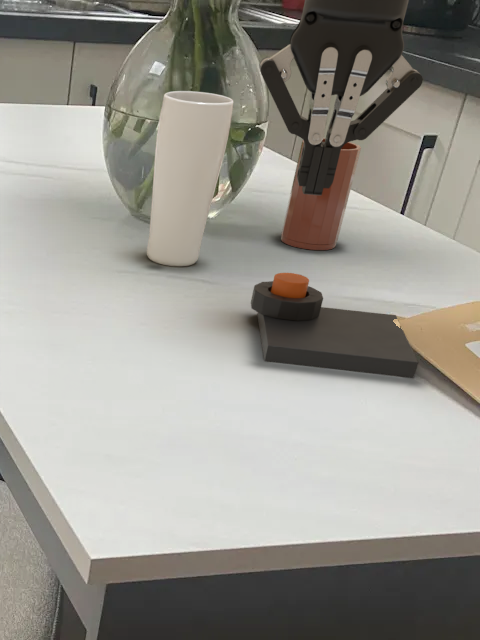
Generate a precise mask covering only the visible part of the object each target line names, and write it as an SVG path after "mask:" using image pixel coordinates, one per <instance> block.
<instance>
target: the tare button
mask: <svg viewBox="0 0 480 640" xmlns="http://www.w3.org/2000/svg"><path fill="white" fill-rule="evenodd" d="M272 281H273V284H272V289H271V293H273V294H275V295H279V296H283V297H287V298H305V296H306V292H307V288H308V286H309V285H310V284H309V283H310V279H309V278H308V277H307V276H305V275H302V274H298V273H294V272H293V273H292V272H278V273H275V274H274V276H273V280H272Z"/></svg>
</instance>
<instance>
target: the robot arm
mask: <svg viewBox="0 0 480 640" xmlns="http://www.w3.org/2000/svg"><path fill="white" fill-rule="evenodd" d="M409 2H410V0H304V3H303V4H304V5H303V8H302V13H301V16H300V20H299V23H297V26H296V27H295V28H294V30H293V31H292V33H291V35H290V38H289V44H287V46H285V47H283V48H282V49H280V50H279V51H278V52H276V53H274V54H273V55H272V56H265V57H263V58H262V59H261V60H260V61H259V65H258V68H259V71H260V75H261V76H262V79H263V81H264V83H265V85H266V87H267V89H268V92H269V93H270V96H271V97H272V99H273V102H274V104H275V106H276V108H277V110H278V112H279V114H280V116H281V118H282V120H283V123H284V125H285V127H286V130H287V131H288V132H289V133H290V134H291V135H295V136H297V137H298V138H301V139H302V141H303V140H304V145H303V150H302V154H301V159H300V163H299V168H298V172H297V180H298V184H299V186H303V187H302V191H303V194H309V195H320V196H321V195H322V192H323V188H330V186H331V185H332V183H333V180H334V176H335V172H336V168H337V164H338V159H339V155H340V151H341V149H342V147H343V146H344V145H345V144H346V143H348V142H353V141H364V140H366V139H367V138H368V137H370V135H372V134H373V132H375V130H377V129H378V128H379V127H380V126H381V125H382V124H383V123H384V122H385V121H386V120H388V118H389V117H390V116H392V115H393V113H395V111H396V110H398V109H399V108H400V107H401V106H402V105H403V104H404V103H405V102H406V101H407V100H408V99H409V98H410V97H411V96H412V95H414V93H415V92H416V91H417V90H419V89H420V87H421V86H422V84H423V82H424V78H423V76H422V73H420V72H419V71H418V70H417V69H414V68H413V67H412V65H411V64H410V63H409V62H408V60H407V59H406V58H405V56H403V52H404V48H405V41H404V37H403V26H404V20H405V17H406V13H407V9H408V4H409ZM293 59H294V61H295V64H296V66H297V70H298V71H299V73H300V76H301V78H302V81H303V83H304V85H305V88H307V90H308V91H309V92H310V97H309V104H308V115H307V118H306V117H304V116H302V115H301V114H300V113H299V111H298V109H297V106H296V104H295V102H294V100H293V98H292V95H291V94H290V91H289V90H288V87H287V85H286V82H287V81H289V79H290V78H291V76H292V68H291V63H292V61H293ZM390 69H391V71H390V72H389V74H388V75H387V77H386V80H385V86H386V89H385V90H384V91H383V92H381V94H380V95H378V96H377V98H376V99H374V101H372V102H371V103H370V104H369V105H368V106H367V107H366V108H365V110H363V111H362V112H361V113H360V114H359V115H358V116H357V117H356V118H355V119H354V120H352V118H353V117H354V115H355V112H356V109H357V106H358V104H359V100H360V97H362V96H364V95H365V94H367V93H368V92H369V91H370V90H371V89H372V88H373V87H374V86H375V85H376V84H377V83H378V82H379V80H381V78H383V77H384V76H385V74H387V72H388V71H389V70H390ZM335 95H336V98H335V101H334V105H333V109H332V110H333V111H332V114H331V118H330V121H329V124H328V127H327V131H326V125H327V120H328V113H329V111H330V106H331V99H332V96H335ZM325 132H326V134H325ZM323 138H326V139H325V142H322V140H323Z"/></svg>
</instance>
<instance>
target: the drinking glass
mask: <svg viewBox="0 0 480 640" xmlns="http://www.w3.org/2000/svg"><path fill="white" fill-rule="evenodd" d="M234 103H235V102H234V99H233V98H231V97H228V96H226V95H222V94H217V93H211V92H204V91H194V90H193V91H192V90H175V91H168V92H165V93H164V94H163V98H162V103H161V108H160V114H159V119H158V126H157V131H156V140H155V141H156V142H155V149H154V150H155V152H154V163H153V178H152V180H153V181H152V192H151V193H152V194H151V207H150V219H149V220H150V221H149V231H148V240H147V245H146V246H147V247H146V255H147V256H146V257H148V259H149V260H150V261H152V262H153V263H156V264H159V265H163V266H169V267H189V266H192V265H194V264H195V263H197V261H198V260H199V257H200V252H201V247H202V242H203V237H204V234H205V230H206V225H207V222H208V218H209V214H210V212H211V211H210V210H211V207H212V203H213V199H214V195H215V191H216V187H217V184H218V180H219V176H220V173H221V169H222V165H223V162H224V158H225V154H226V149H227V145H228V141H229V140H228V139H229V135H230V130H231V124H232V117H233V112H234V111H233V110H234Z"/></svg>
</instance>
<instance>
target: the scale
mask: <svg viewBox="0 0 480 640" xmlns="http://www.w3.org/2000/svg"><path fill="white" fill-rule="evenodd" d="M272 284H273V280H271V281H261V282H258V283H256V284H255V285H254V286H253V291H252V295H251V299H250V308H251V310H253V311H254V312H257V314H256V315H257V322H258V329H259V334H260V335H259V336H260V341H261V348H262V354H263V360H264V362H267V363H278V364H285V365H286V364H287V365H295V366H302V367H312V368H320V369H330V370H337V371H338V370H339V371H348V372H355V373H366V374H374V375H381V376H391V377H392V376H393V377H400V378H401V377H402V378H408V379H414V378H415V375H416V372H417V369H418V365H419V361H418V358H417V356H416V355H415V352H414V351H413V348H412V346H411V344H410V342H409V340H408V338H407V335H406V333H405V331H404V330H402V329H403V328H402V329H401V328H399V327H398V326H396V324H395V323H394V322H393V320H394V319H398V317H397V315H396V314H388V313H381V312H380V313H379V312H372V311H371V312H370V311H360V310H352V309H343V308H334V307H323V306H322V305H323V301H324V296H323V293H322V292H321V291H319V290H318V289H316V288H314V287H313V286H309V285H308V288H307V292H306V296H305V298H287V297H283V296H279V295H275V294H273V293H271V289H272Z"/></svg>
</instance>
